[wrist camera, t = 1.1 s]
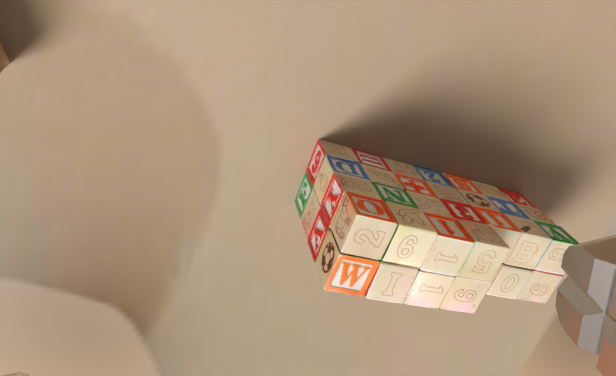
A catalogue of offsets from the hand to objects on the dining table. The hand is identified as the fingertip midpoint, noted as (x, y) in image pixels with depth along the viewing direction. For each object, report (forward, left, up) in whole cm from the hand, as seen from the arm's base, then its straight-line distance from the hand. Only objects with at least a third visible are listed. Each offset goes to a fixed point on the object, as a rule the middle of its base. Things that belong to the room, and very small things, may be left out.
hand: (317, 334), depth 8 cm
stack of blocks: (+21, +14, -34) cm, 42 cm away
